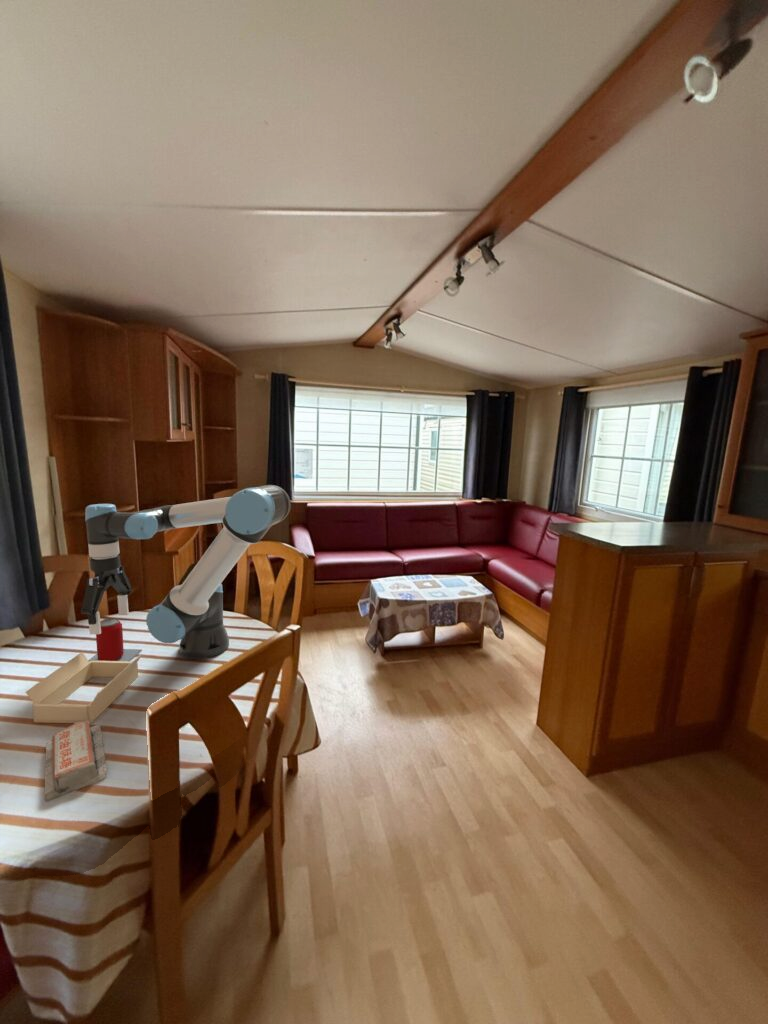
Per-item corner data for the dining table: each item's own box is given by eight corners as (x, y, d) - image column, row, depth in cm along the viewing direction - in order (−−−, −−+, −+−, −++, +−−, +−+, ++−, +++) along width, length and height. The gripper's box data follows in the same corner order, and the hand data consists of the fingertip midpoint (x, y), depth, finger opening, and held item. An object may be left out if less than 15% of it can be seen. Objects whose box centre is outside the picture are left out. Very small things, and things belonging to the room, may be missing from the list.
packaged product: (107, 758, 82) (42, 782, 76) (108, 779, 83) (45, 804, 77) (99, 711, 96) (44, 728, 90) (100, 729, 97) (46, 747, 90)
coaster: (141, 650, 132) (141, 649, 132) (119, 670, 120) (119, 669, 120) (103, 649, 132) (103, 648, 132) (77, 669, 120) (77, 668, 120)
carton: (145, 676, 118) (144, 651, 117) (98, 724, 98) (96, 695, 97) (85, 674, 118) (83, 650, 116) (25, 722, 97) (22, 693, 96)
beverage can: (121, 650, 131) (118, 615, 129) (126, 659, 126) (124, 622, 124) (95, 657, 126) (93, 620, 124) (100, 666, 121) (97, 628, 119)
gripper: (117, 546, 133) (122, 607, 136) (60, 568, 108) (67, 642, 112) (141, 546, 133) (145, 607, 137) (88, 568, 109) (95, 642, 112)
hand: (110, 623), depth 124 cm, fingers open, 13 cm apart
